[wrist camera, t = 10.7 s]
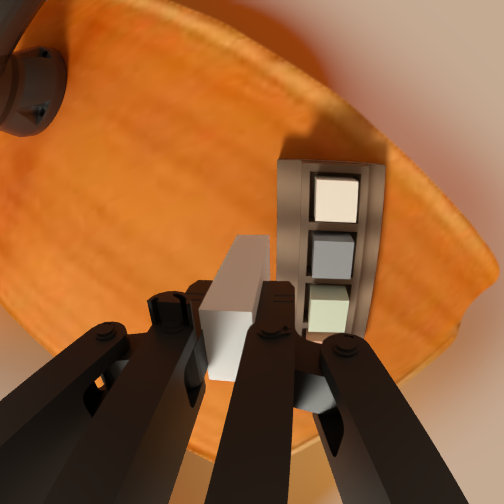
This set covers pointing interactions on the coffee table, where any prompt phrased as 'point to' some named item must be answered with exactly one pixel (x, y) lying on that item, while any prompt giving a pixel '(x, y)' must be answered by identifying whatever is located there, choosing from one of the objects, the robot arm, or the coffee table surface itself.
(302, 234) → the brown stepped piece
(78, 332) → the coffee table surface
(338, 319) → the sage key
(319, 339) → the terracotta key
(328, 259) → the slate key
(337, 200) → the ivory key
